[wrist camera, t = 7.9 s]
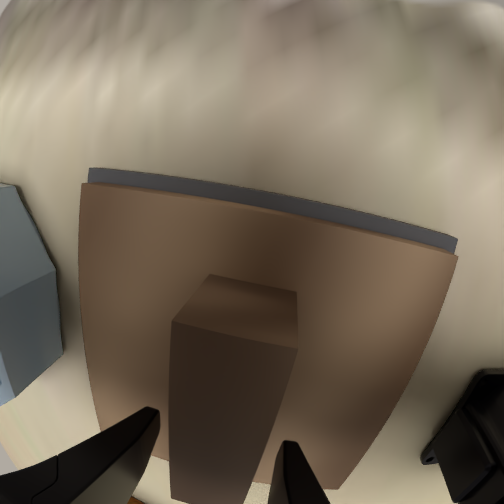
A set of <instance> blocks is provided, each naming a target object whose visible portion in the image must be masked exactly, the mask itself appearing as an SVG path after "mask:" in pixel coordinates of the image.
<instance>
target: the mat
mask: <svg viewBox="0 0 504 504" xmlns="http://www.w3.org/2000/svg"><path fill="white" fill-rule="evenodd" d="M93 182H102V183H110V184H118V185H126V186H133V187H140V188H147V189H154V190H161V191H168V192H174V193H180V194H187V195H193V196H199V197H205V198H211V199H217V200H223V201H228V202H234V203H240V204H245V205H251V206H256V207H261V208H266V209H272V210H277V211H282V212H287V213H292V214H297V215H302V216H307V217H311V218H316V219H321V220H326V221H330V222H335V223H339V224H344V225H348V226H353V227H357V228H362V229H366V230H370V231H374V232H379V233H383V234H387V235H391V236H395V237H399V238H403V239H407V240H411V241H415V242H419V243H423V244H427V245H431V246H435V247H438V248H442V249H445V250H447V251H449V252H451V253H453V254H454V252H455V248H456V244H457V241H458V239H457V238H455V237H452V236H450V235H447V234H443V233H440V232H436V231H433V230H429V229H426V228H422V227H419V226H415V225H411V224H408V223H404V222H400V221H396V220H392V219H388V218H385V217H381V216H377V215H373V214H368V213H364V212H360V211H356V210H352V209H347V208H343V207H339V206H334V205H330V204H325V203H321V202H316V201H311V200H307V199H302V198H297V197H292V196H287V195H282V194H277V193H271V192H266V191H261V190H255V189H250V188H244V187H238V186H233V185H227V184H220V183H214V182H208V181H201V180H195V179H188V178H181V177H174V176H166V175H159V174H151V173H143V172H134V171H125V170H116V169H106V168H89V174H88V183H93Z"/></svg>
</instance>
